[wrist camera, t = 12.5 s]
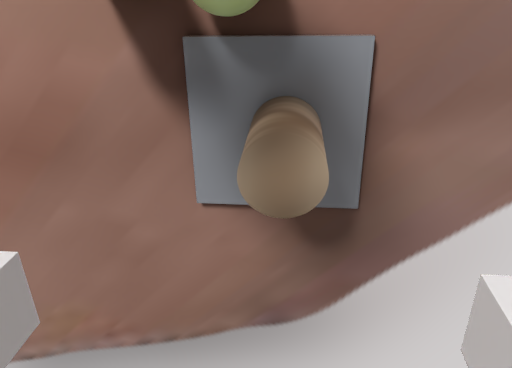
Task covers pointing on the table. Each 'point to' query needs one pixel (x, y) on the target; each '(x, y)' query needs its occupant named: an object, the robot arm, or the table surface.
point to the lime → (226, 6)
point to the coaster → (271, 86)
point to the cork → (284, 159)
